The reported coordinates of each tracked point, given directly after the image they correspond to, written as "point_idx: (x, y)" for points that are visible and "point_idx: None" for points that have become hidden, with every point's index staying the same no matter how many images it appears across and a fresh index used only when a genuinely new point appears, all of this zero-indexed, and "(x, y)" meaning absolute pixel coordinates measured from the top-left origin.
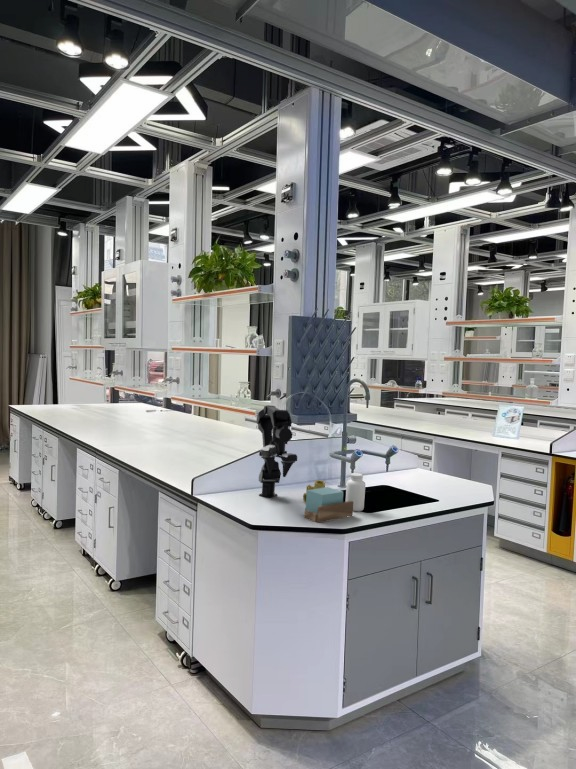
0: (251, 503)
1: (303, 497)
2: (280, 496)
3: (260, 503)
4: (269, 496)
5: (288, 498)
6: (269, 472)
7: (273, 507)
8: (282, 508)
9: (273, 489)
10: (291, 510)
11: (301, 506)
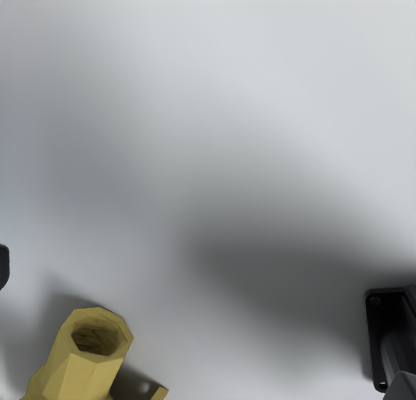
0: (406, 3)
1: (122, 346)
2: (335, 368)
3: (336, 76)
4: (385, 292)
5: (260, 353)
6: (403, 386)
7: (181, 59)
8: (122, 92)
9: (389, 373)
10: (55, 98)
11: (83, 234)
